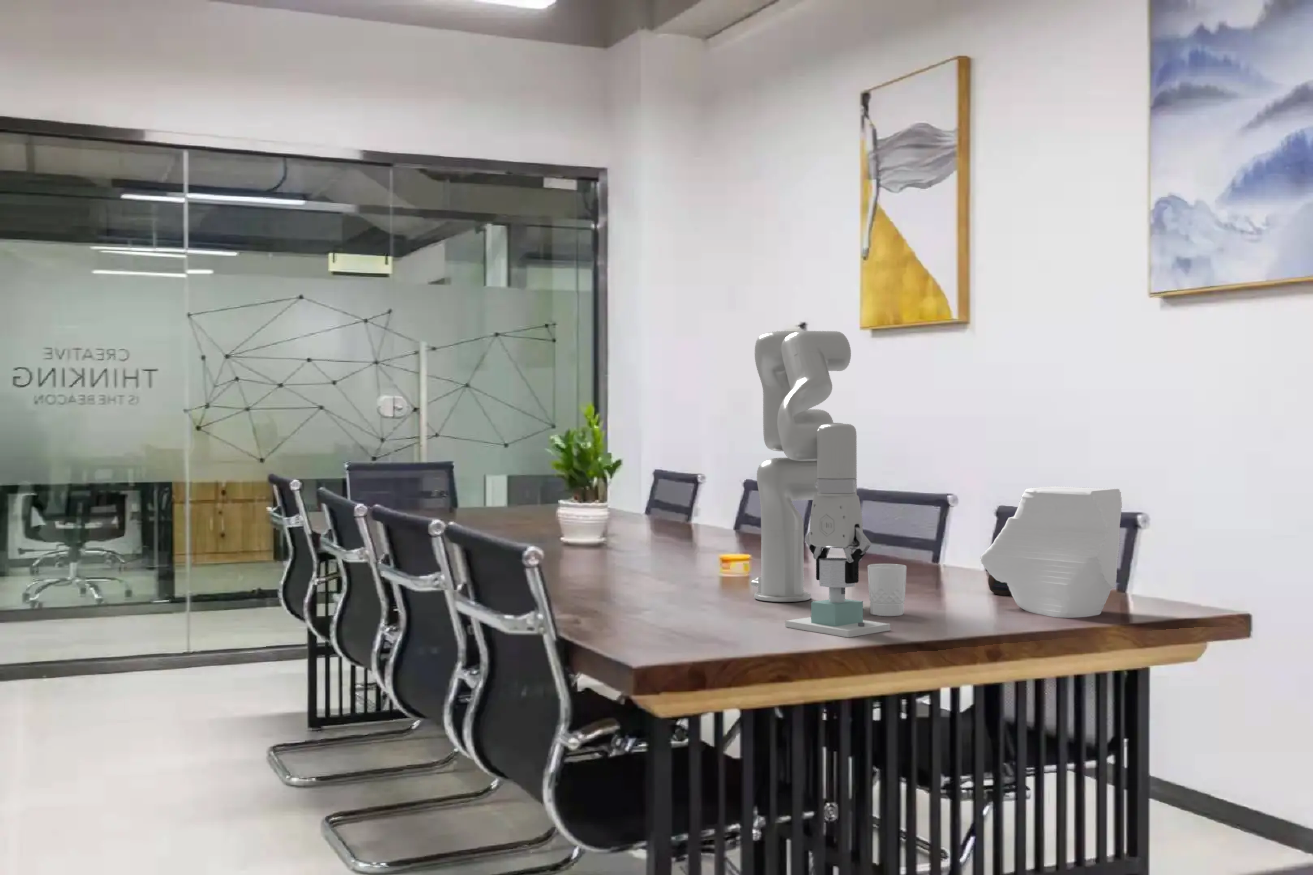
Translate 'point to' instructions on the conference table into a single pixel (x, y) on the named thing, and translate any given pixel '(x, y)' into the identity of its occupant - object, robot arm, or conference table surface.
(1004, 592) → the mate gourd
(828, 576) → the grey hollow octagonal block
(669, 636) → the conference table surface
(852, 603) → the pedestal
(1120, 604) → the conference table surface
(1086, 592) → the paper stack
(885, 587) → the white cup
